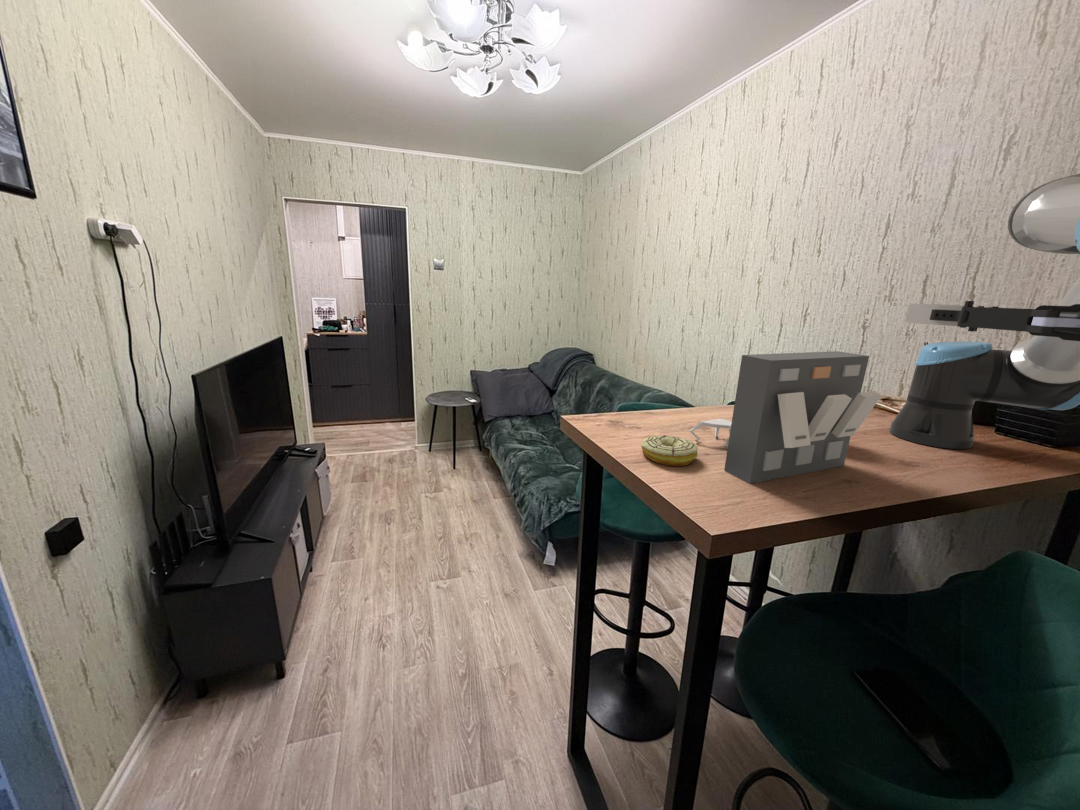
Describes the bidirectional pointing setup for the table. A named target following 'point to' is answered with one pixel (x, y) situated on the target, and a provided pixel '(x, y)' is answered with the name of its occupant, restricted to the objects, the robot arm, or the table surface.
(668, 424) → the table surface
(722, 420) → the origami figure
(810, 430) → the middle rocker
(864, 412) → the bar
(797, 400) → the rocker
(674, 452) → the decorated donut
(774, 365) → the power box
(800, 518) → the table surface
